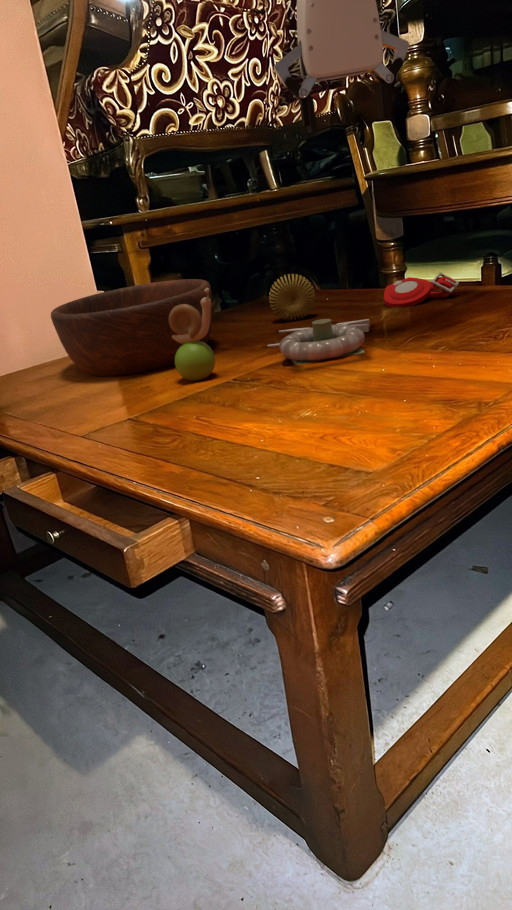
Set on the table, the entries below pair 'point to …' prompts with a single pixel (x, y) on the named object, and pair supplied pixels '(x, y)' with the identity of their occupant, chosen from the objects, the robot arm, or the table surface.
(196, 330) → the snail figurine
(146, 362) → the wooden bowl
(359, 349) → the stand
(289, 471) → the table surface
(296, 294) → the sculpture
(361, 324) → the pliers
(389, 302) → the tracker holder
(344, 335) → the bracelet
